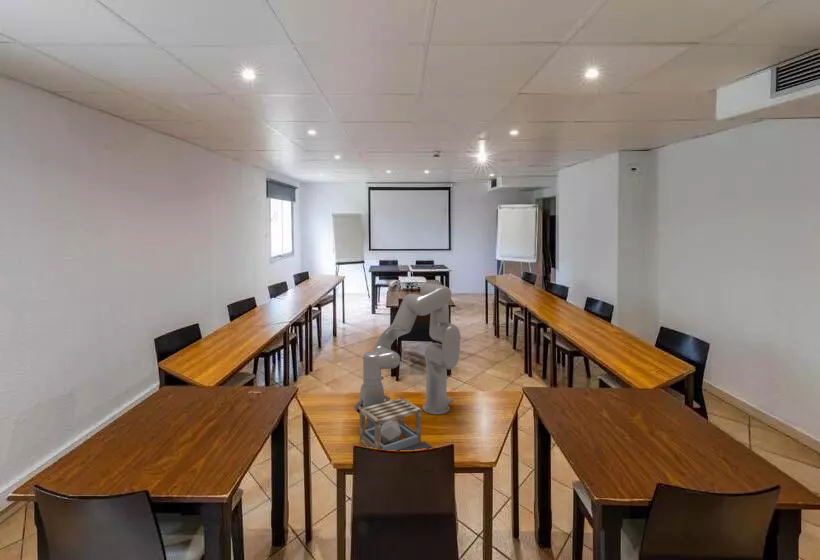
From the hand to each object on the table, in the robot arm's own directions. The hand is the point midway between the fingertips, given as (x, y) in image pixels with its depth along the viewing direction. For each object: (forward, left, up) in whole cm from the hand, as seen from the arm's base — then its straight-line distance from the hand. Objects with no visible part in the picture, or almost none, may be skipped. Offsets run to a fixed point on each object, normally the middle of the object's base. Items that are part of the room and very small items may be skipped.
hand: (372, 420), depth 180 cm
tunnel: (0, +15, -3) cm, 15 cm away
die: (0, +15, -4) cm, 15 cm away
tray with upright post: (0, +10, -3) cm, 11 cm away
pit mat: (-5, +25, -3) cm, 26 cm away
